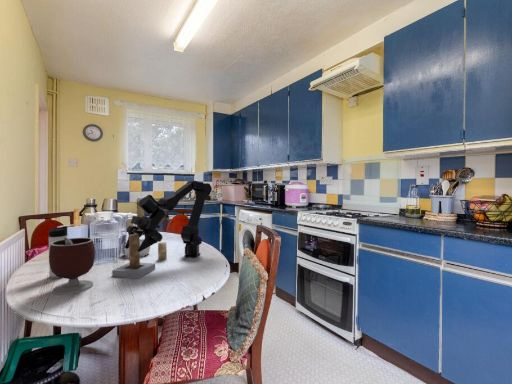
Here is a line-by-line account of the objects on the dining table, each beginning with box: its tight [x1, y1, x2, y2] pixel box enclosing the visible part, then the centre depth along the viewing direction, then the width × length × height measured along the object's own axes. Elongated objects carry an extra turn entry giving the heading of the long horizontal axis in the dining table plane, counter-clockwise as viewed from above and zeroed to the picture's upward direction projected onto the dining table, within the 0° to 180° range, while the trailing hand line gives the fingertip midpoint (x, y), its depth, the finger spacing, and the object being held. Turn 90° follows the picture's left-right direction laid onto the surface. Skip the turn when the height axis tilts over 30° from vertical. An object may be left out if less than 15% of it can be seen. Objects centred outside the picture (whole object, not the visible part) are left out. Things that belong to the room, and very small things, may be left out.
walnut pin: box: [128, 234, 141, 269], centre depth 117 cm, size 4×4×16 cm
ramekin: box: [124, 238, 151, 258], centre depth 146 cm, size 13×13×7 cm
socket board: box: [111, 262, 156, 279], centre depth 118 cm, size 12×12×2 cm
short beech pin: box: [157, 241, 168, 261], centre depth 138 cm, size 4×4×8 cm
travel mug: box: [48, 225, 69, 280], centre depth 112 cm, size 6×7×20 cm
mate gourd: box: [48, 237, 96, 296], centre depth 100 cm, size 16×14×20 cm
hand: (131, 249), depth 116 cm, fingers open, 9 cm apart
